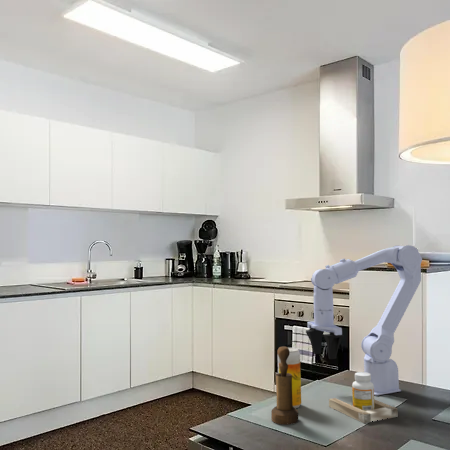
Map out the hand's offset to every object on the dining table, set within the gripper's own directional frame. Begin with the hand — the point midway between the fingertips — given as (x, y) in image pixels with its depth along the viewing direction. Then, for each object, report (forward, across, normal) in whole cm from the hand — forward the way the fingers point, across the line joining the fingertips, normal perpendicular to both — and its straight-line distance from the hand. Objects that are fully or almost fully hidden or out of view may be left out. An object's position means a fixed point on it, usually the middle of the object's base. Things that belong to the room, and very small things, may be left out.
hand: (324, 356), depth 145 cm
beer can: (+11, +6, -16) cm, 20 cm away
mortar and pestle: (+11, +15, -23) cm, 29 cm away
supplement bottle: (+11, +19, -2) cm, 22 cm away
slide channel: (+10, +18, -2) cm, 21 cm away
